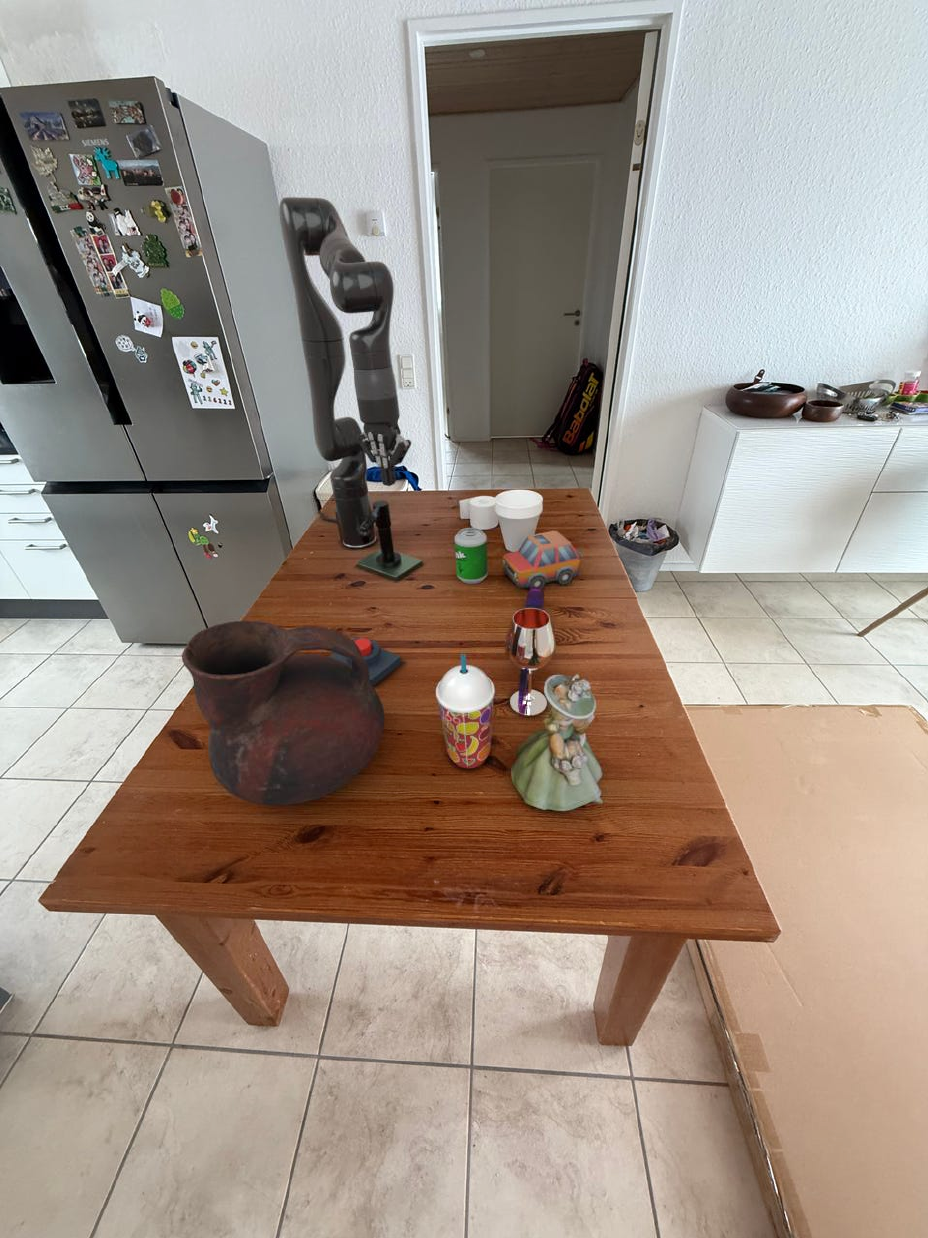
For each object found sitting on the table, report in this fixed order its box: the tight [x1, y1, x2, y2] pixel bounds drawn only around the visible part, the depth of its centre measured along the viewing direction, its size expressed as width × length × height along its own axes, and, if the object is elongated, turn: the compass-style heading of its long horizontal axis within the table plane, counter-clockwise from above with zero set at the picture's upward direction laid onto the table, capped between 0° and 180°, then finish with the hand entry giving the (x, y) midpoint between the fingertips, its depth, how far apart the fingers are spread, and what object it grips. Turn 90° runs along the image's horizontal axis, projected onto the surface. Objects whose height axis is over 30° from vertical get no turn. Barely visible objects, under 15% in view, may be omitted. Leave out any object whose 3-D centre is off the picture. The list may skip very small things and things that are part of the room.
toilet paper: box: [459, 495, 499, 531], centre depth 148 cm, size 8×11×7 cm
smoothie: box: [435, 653, 496, 769], centre depth 74 cm, size 8×8×20 cm
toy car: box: [502, 530, 584, 590], centre depth 121 cm, size 12×17×10 cm
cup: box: [494, 489, 544, 553], centre depth 133 cm, size 12×12×14 cm
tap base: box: [355, 526, 423, 582], centre depth 129 cm, size 14×10×11 cm
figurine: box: [510, 673, 604, 812], centre depth 69 cm, size 14×14×20 cm
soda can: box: [454, 527, 489, 585], centre depth 121 cm, size 8×8×12 cm
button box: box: [328, 636, 402, 688], centre depth 99 cm, size 12×8×4 cm, turn 54°
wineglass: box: [504, 607, 557, 717], centre depth 84 cm, size 8×8×18 cm
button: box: [354, 638, 372, 657], centre depth 97 cm, size 4×4×2 cm
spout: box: [360, 500, 392, 544], centre depth 119 cm, size 15×4×6 cm, turn 170°
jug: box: [181, 620, 385, 807], centre depth 73 cm, size 25×25×25 cm
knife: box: [518, 587, 545, 709], centre depth 98 cm, size 37×4×5 cm, turn 169°
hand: (389, 484), depth 104 cm, fingers closed
